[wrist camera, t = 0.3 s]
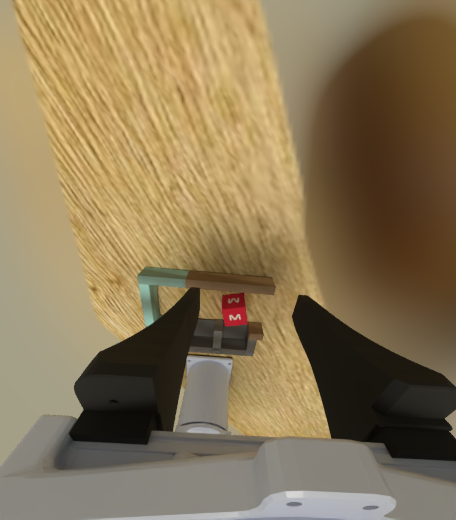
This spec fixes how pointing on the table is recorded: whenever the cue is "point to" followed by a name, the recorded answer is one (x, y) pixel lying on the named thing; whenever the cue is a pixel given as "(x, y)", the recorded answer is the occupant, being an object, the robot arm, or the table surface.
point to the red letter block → (234, 309)
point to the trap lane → (207, 331)
